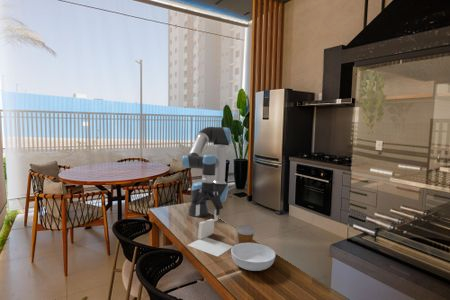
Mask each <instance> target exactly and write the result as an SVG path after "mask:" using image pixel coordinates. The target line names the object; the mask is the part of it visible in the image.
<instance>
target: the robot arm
mask: <svg viewBox="0 0 450 300" xmlns="http://www.w3.org/2000/svg"><path fill="white" fill-rule="evenodd" d="M208 143H210V144H211V143H213V144H212V145H213V147H214V154H204V155H203V156H202V154H203V152H204V149H205V147H206V145H207V144H208ZM230 144H232V132H231V129H230V128H229V127H224V126H221V127H220V126H206V127H204V128H202V129H201V130H199V131H198V132H197V133H196V135H195V141H194V143H193V144H192V147H191V149H190V150H189V153H188V155H182V159H181V165H182V167H183V168H188V169H201V170H202V173H201V175H202V176H201V181H198V182H194V183H192V185H191V190H190V191H191V192H190V193H191V194H190V195H191V196H190V205H189V206H188V207H189V208H188V212H187V213H188V215H189V216H191V217H196V218H197V217H198V218H201V217H202V218H203V217H206V216H208V215H209V213H210V210H209V207H208V202H209V201H210V202H212V204H213V206H214V208H215V209H214V217H213V219H214V222H217V221H219V216H220V210H222V209H224V206H223V204H222V202H225V201H227V197H228V192H229V185H227V184H228V183H227V182H226V181H225V180H226V166H227V149H228V147H230Z"/></svg>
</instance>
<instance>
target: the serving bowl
mask: <svg viewBox="0 0 450 300" xmlns="http://www.w3.org/2000/svg"><path fill="white" fill-rule="evenodd" d="M232 246H233V247H232V249H231V248H230V253H231V258H232V260H233V262H234V263H235V264H236V265H237V266H238V267H240V268H241V269H244V270H248V271H252V272H257V271H258V272H260V271H264V270H267V269H269V268H270V267H271V266H272V265H273V264H274V262H275V259H276V252H275V250H274V249H272V248H271V247H270V246H267V245H264V244H261V243H257V242H252V243H240V244H238V243H237V244H234V245H232Z"/></svg>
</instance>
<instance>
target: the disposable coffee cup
mask: <svg viewBox="0 0 450 300" xmlns="http://www.w3.org/2000/svg"><path fill="white" fill-rule="evenodd" d="M255 231H256V230H255V228H254V226H252V225H249V224H241V225H238V226H237V228H236V232H237V242H238V243H237V244H240V243H253V239H254V233H255Z"/></svg>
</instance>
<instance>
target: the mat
mask: <svg viewBox="0 0 450 300" xmlns="http://www.w3.org/2000/svg"><path fill="white" fill-rule="evenodd" d="M187 246H188V247H190V248H194V249H196V250H199V251H202V252H205V253H207V254H209V255H212V256H215V257H217V258H219V257H221V256H222V255H224V254H225V253H226V254H227V252H229V251H231V249H232V247H233V246H234V245H231V244H228V243H225V242H222V241H219V240H215V239H213V238H210V237H205V238H203V239H199V238H198V239H197V240H195V241H193V242H190V243H189V244H187Z"/></svg>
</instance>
